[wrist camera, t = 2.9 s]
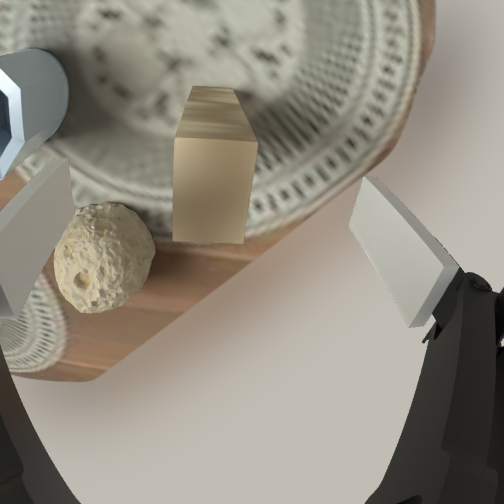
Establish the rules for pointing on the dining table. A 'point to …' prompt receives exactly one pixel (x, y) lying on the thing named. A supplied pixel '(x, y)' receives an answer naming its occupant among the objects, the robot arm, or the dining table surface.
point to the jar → (29, 104)
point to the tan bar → (212, 168)
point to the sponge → (103, 257)
